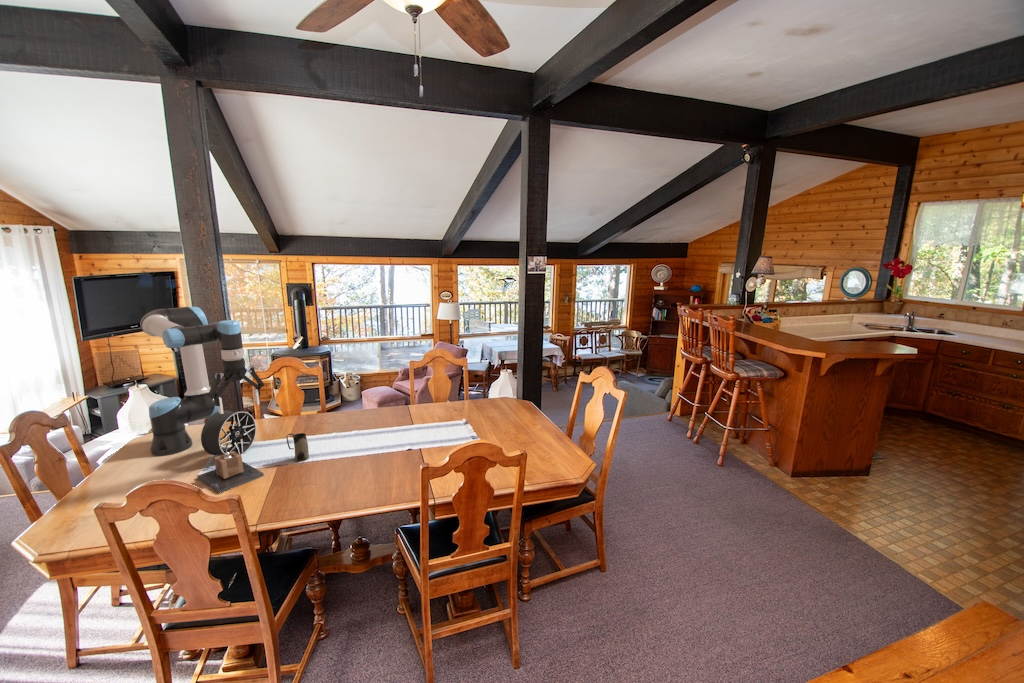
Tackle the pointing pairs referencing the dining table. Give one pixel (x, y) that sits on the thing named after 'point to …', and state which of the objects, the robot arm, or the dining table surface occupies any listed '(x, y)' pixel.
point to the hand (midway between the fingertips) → (239, 408)
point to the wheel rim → (228, 432)
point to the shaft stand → (225, 484)
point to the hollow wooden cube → (229, 465)
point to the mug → (300, 447)
